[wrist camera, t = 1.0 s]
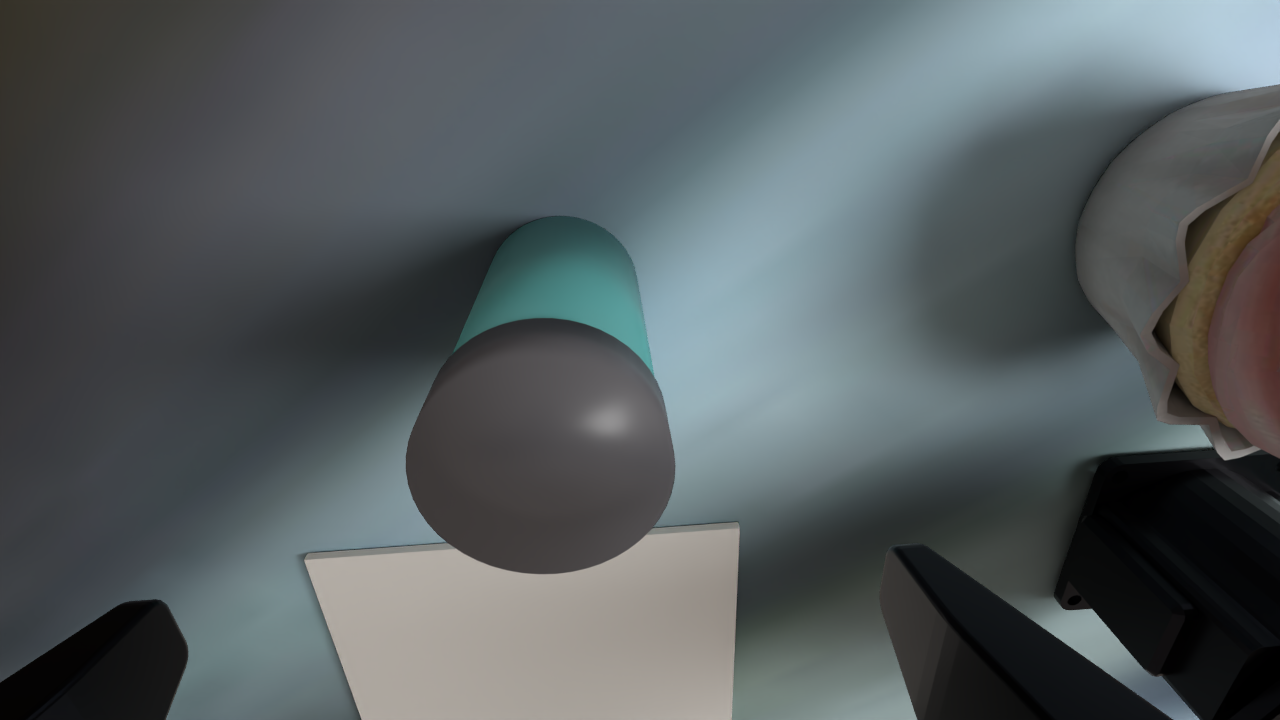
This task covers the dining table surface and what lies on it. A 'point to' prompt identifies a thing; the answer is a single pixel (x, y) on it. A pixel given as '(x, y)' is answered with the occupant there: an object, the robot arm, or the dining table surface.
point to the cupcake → (1196, 265)
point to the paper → (537, 631)
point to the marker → (546, 410)
